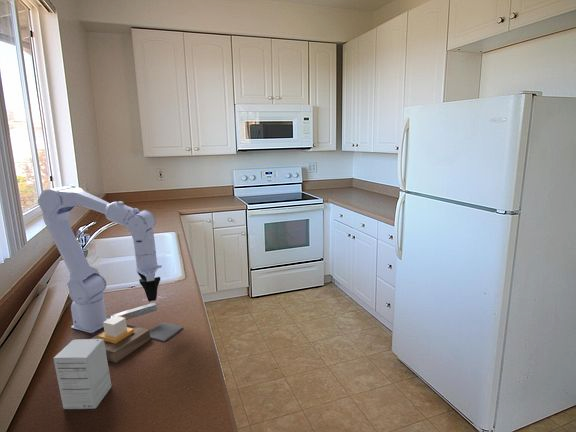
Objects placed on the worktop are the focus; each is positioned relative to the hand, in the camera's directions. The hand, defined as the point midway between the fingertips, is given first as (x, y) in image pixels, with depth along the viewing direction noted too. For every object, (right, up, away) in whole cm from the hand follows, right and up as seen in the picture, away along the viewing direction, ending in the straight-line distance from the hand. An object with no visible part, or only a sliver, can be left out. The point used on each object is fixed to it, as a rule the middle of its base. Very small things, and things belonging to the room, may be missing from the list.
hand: (150, 295), depth 110 cm
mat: (+4, -11, -1) cm, 12 cm away
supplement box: (-4, -17, -28) cm, 33 cm away
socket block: (-6, -13, -7) cm, 16 cm away
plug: (-6, -13, -7) cm, 16 cm away
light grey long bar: (-5, -8, 0) cm, 9 cm away
